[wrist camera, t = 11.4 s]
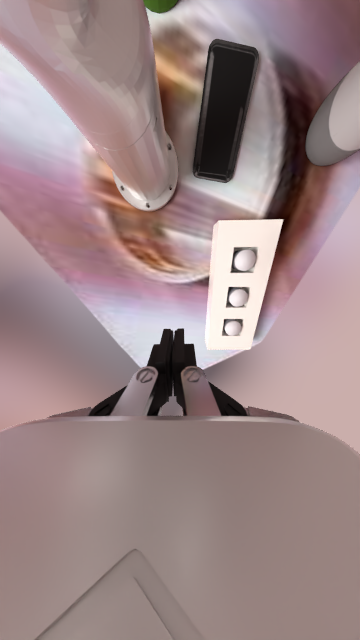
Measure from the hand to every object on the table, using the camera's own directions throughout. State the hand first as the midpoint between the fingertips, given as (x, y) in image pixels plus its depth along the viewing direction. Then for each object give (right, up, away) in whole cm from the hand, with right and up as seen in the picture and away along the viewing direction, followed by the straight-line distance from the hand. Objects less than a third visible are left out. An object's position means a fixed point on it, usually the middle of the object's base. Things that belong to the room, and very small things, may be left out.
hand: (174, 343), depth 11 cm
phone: (+8, +37, +13) cm, 40 cm away
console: (+14, +9, +25) cm, 30 cm away
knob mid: (+14, +9, +24) cm, 29 cm away
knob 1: (+14, +2, +27) cm, 31 cm away
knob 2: (+14, +16, +20) cm, 29 cm away
